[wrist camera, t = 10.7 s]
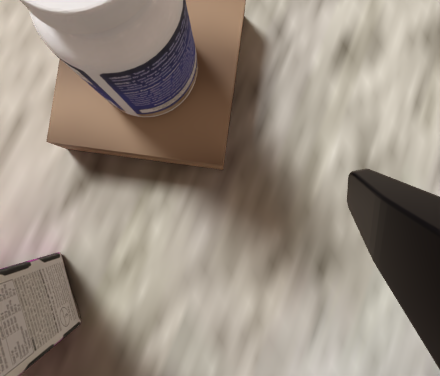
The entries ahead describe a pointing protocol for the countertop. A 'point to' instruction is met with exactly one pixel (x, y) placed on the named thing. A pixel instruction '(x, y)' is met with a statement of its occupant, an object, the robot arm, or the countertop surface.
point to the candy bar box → (34, 311)
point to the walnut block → (169, 122)
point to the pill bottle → (123, 49)
